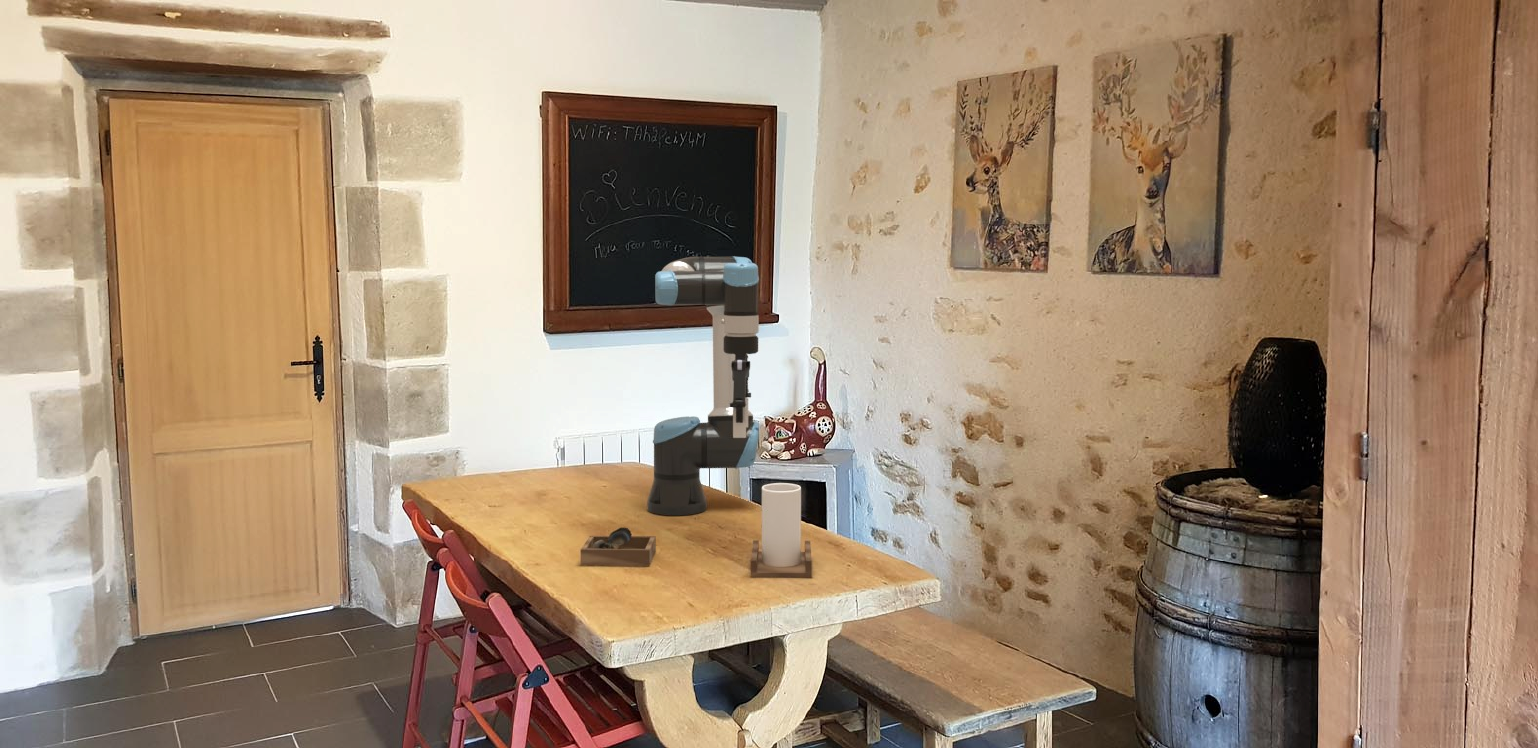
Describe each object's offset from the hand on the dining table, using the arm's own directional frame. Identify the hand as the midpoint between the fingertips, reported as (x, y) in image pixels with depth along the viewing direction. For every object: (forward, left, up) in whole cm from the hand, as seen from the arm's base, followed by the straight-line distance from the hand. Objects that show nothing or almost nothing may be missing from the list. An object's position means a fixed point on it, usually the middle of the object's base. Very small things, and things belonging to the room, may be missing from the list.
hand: (740, 432), depth 248 cm
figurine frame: (+6, -26, -27) cm, 38 cm away
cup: (+11, +9, -26) cm, 30 cm away
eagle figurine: (+6, -27, -27) cm, 39 cm away
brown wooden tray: (+11, +9, -27) cm, 30 cm away
